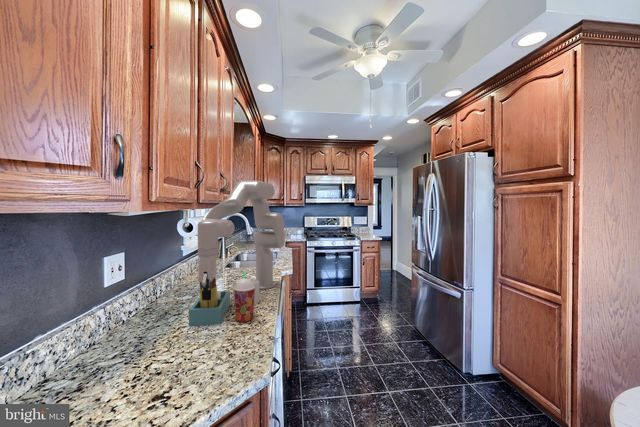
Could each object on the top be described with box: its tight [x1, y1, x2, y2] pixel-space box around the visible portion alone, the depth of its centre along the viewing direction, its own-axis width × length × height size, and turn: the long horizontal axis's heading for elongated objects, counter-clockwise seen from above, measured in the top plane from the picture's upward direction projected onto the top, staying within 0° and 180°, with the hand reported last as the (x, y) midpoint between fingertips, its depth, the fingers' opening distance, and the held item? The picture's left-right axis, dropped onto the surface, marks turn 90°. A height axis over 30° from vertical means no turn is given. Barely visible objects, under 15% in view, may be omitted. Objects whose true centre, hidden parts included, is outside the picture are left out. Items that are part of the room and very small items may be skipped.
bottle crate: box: [188, 290, 231, 327], centre depth 113 cm, size 22×11×7 cm, turn 9°
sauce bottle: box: [199, 277, 218, 308], centre depth 108 cm, size 7×6×20 cm
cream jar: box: [217, 290, 221, 299], centre depth 118 cm, size 5×5×7 cm
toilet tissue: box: [232, 278, 261, 305], centre depth 128 cm, size 11×12×10 cm
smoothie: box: [232, 270, 255, 323], centre depth 108 cm, size 8×8×20 cm
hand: (208, 296), depth 108 cm, fingers closed on sauce bottle, 6 cm apart
